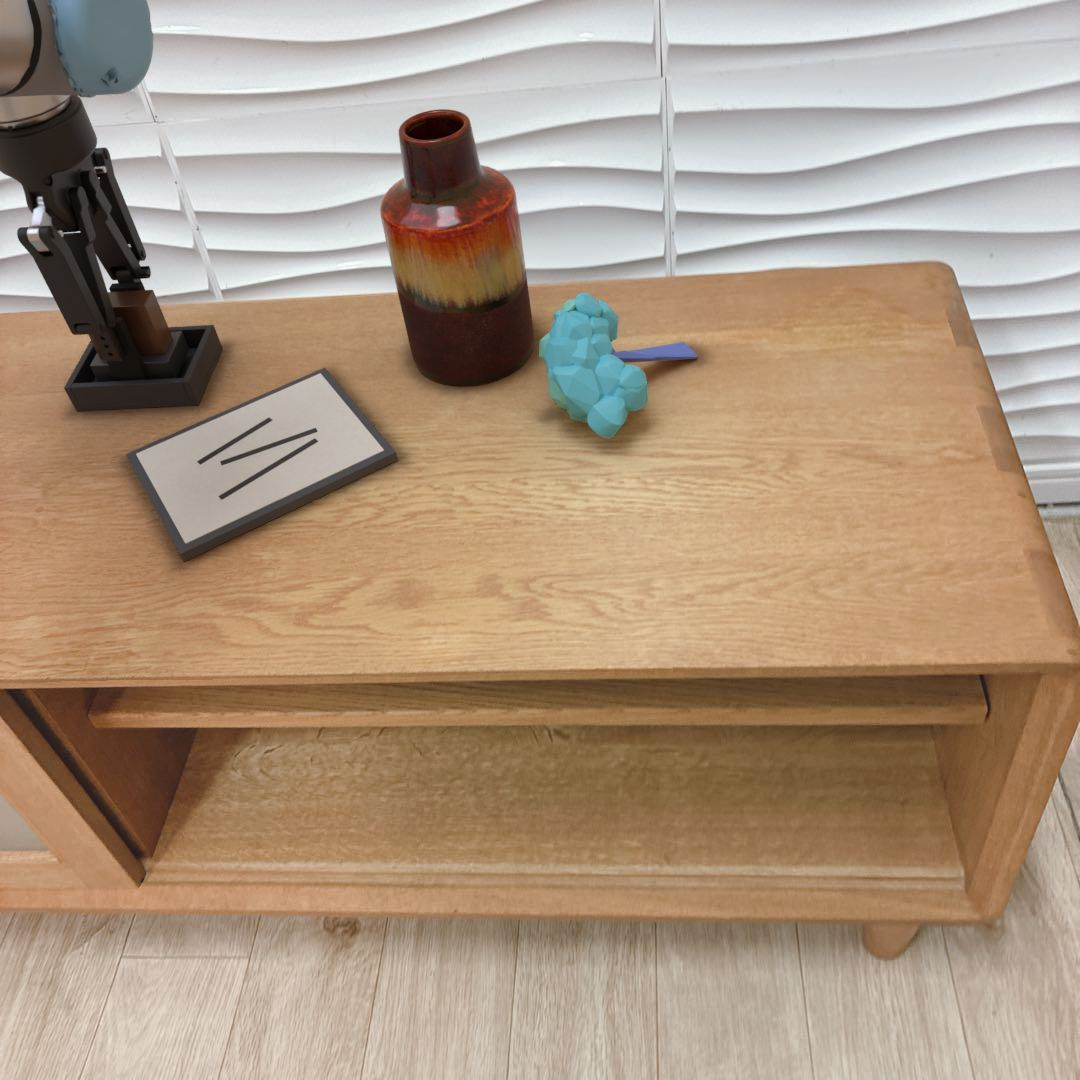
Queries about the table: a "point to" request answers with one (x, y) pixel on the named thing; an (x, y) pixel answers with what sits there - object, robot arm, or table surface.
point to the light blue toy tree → (597, 365)
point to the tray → (149, 392)
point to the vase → (457, 255)
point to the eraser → (145, 336)
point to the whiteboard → (258, 461)
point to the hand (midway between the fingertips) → (143, 364)
